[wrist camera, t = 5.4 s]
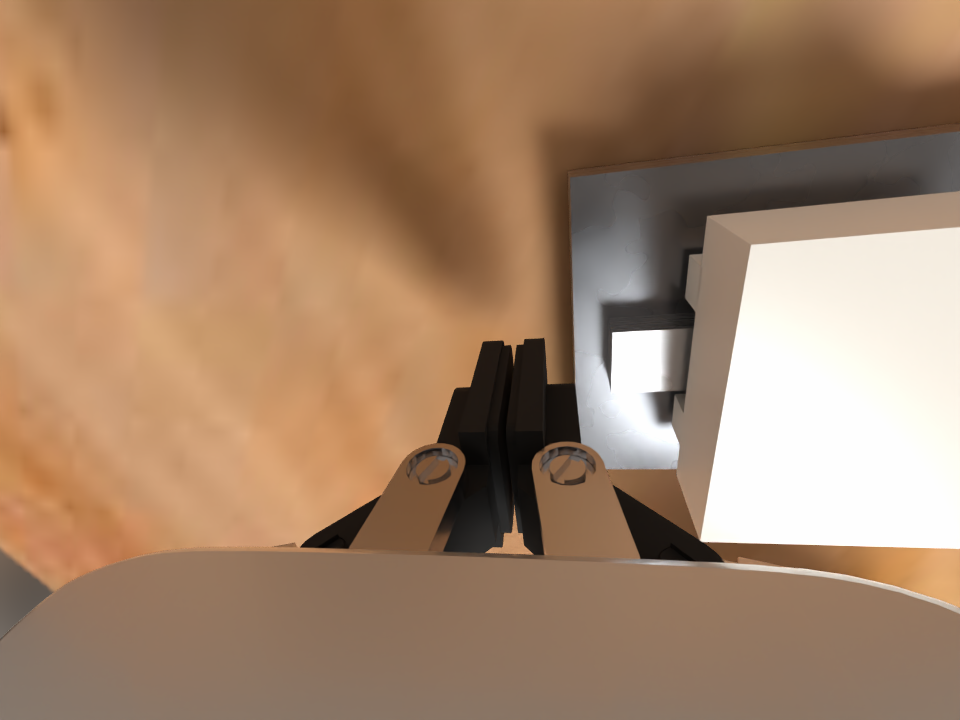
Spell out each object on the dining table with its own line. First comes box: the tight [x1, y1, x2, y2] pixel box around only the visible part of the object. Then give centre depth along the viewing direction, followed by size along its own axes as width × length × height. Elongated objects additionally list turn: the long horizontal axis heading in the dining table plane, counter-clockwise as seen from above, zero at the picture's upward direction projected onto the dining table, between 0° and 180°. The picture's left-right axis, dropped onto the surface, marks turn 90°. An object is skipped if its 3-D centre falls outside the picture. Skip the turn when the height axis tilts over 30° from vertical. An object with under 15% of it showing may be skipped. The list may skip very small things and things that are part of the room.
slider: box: [672, 191, 960, 549], centre depth 11 cm, size 6×8×4 cm
